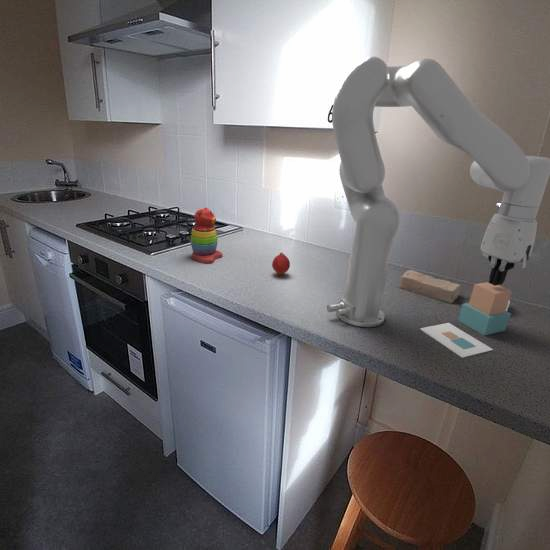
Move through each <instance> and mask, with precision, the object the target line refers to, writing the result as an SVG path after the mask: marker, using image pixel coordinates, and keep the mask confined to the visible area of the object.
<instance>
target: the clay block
mask: <svg viewBox="0 0 550 550" xmlns="http://www.w3.org/2000/svg"><path fill="white" fill-rule="evenodd" d="M512 292H513V291H512V290H511V289H508V288H506V287H503V286H502V285H495V286H494V285H492V284H490V283H489V281H488V282H480V283H475V284H474V285H473V288H472V292H471V296H470V299H469V302H468V303H469V306H471V307H473V308H475V309H477V310H479V311H481V312H483V313H485V314H487V315H494V314H499V313H504V312H505V310H506V307H507V305H508V302H509V300H510V299H511V296H512Z"/></svg>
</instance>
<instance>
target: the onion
mask: <svg viewBox="0 0 550 550" xmlns="http://www.w3.org/2000/svg"><path fill="white" fill-rule="evenodd" d="M271 267H272V269H273V271H274V272H275V273H277V274H278V275H279V276H282V275H284V274H286V273H287V272H288V271H289V269H290V267H291V263H290V260H289V258H288V256H286V255H285V254H284V252H282V251H281V252H280V253H279V254H278V255H276V256H275V257H274V258H273V260H272V263H271Z"/></svg>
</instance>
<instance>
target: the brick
mask: <svg viewBox="0 0 550 550" xmlns="http://www.w3.org/2000/svg"><path fill="white" fill-rule="evenodd" d="M399 288H401V289H403V290H406V291H409V292H412V293H415V294H418V295H421V296H425V297H428V298H430V299H435V300H439V301H442V302H445V303H449V304H453V303H454V302H455V300H456V299H458V297H459V293H460V288H461V285H460V284H459V283H454V282H451V281H449V280H445V279H439V278H435V277H433V276H431V275H427V274H423V273H422V272H419V271H416V270H414V269H412V270H411V269H409V270H407V271H405V272H404V273H403V275H401V277H400V279H399Z"/></svg>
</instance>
